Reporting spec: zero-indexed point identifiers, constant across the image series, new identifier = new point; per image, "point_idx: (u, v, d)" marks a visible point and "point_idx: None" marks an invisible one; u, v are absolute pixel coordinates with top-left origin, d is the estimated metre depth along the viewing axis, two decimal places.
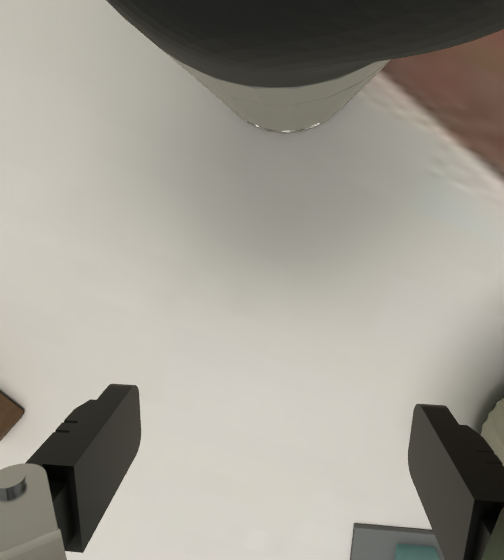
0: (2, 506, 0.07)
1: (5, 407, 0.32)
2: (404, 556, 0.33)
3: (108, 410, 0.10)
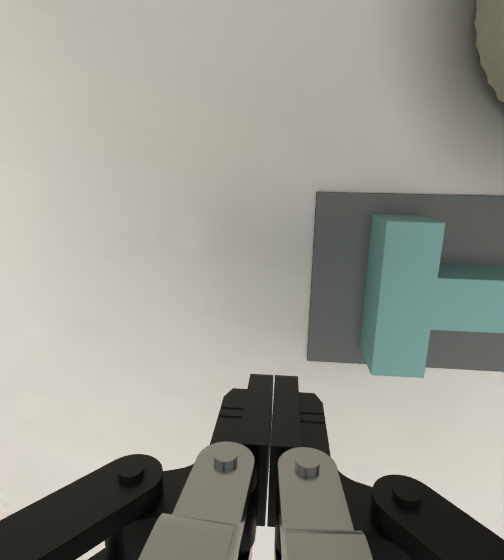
0: (231, 479, 0.08)
1: None
2: (381, 215, 0.25)
3: (265, 397, 0.11)
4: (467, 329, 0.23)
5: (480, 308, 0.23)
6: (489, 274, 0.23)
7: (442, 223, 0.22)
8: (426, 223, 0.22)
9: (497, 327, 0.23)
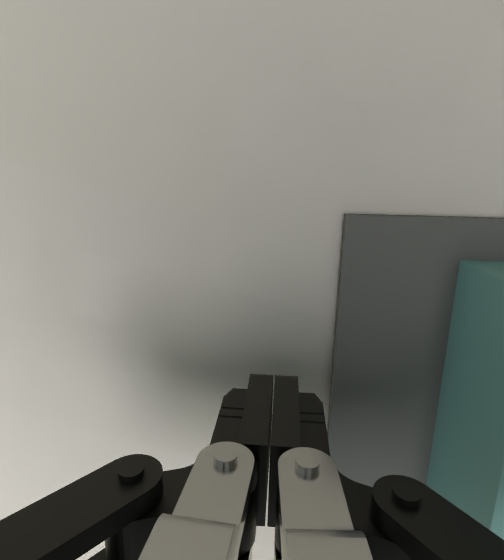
0: (231, 478, 0.08)
1: None
2: (488, 268, 0.11)
3: (265, 397, 0.11)
4: None
5: None
6: None
7: None
8: None
9: None
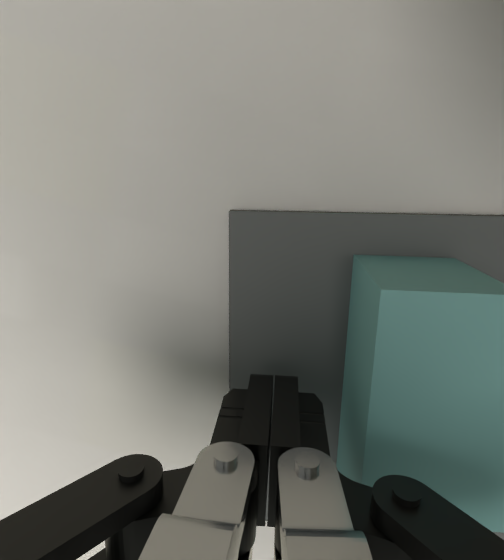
0: (231, 478, 0.08)
1: None
2: (371, 262, 0.12)
3: (265, 397, 0.11)
4: None
5: None
6: None
7: None
8: (479, 295, 0.09)
9: None
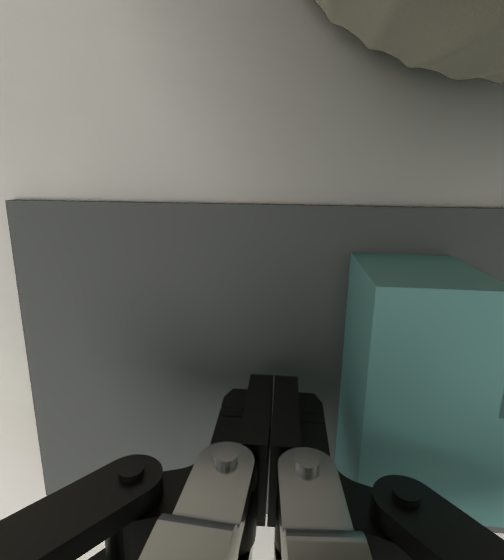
0: (231, 478, 0.08)
1: None
2: (367, 260, 0.12)
3: (265, 397, 0.11)
4: None
5: None
6: None
7: None
8: (474, 292, 0.09)
9: None
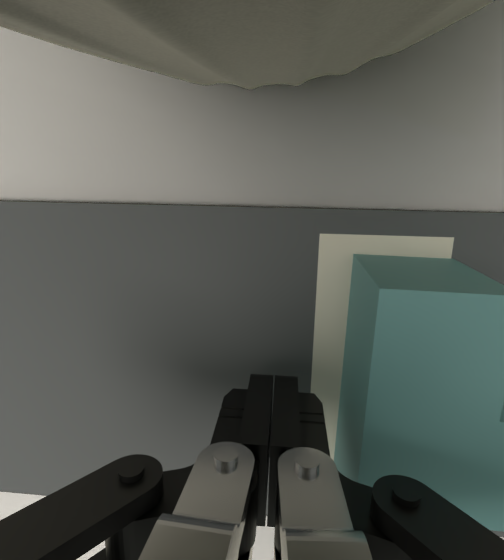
0: (231, 478, 0.08)
1: None
2: (370, 261, 0.12)
3: (265, 397, 0.11)
4: None
5: None
6: None
7: None
8: (477, 296, 0.09)
9: None
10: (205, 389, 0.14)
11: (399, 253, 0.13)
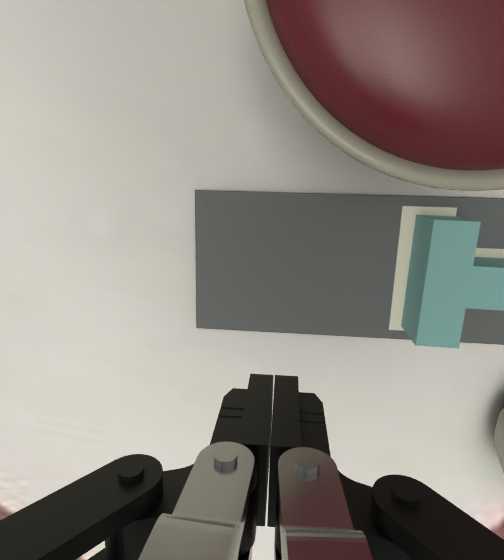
0: (231, 478, 0.08)
1: None
2: (425, 216, 0.30)
3: (265, 397, 0.11)
4: (495, 308, 0.28)
5: None
6: None
7: (478, 222, 0.27)
8: (465, 221, 0.27)
9: None
10: (348, 275, 0.33)
11: (435, 214, 0.31)
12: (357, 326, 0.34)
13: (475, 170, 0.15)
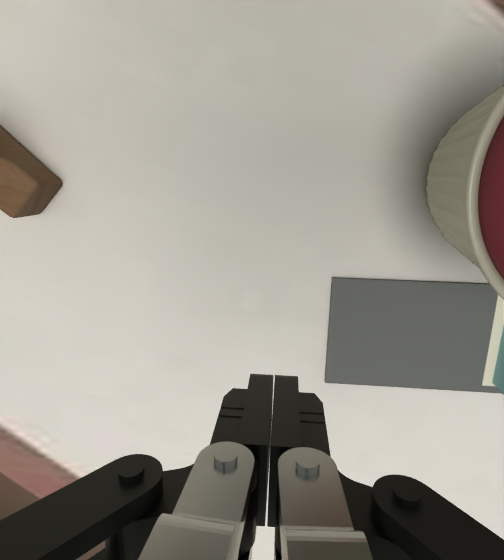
0: (231, 478, 0.08)
1: (48, 173, 0.40)
2: None
3: (265, 397, 0.11)
4: None
5: None
6: None
7: None
8: None
9: None
10: (451, 344, 0.42)
11: None
12: (456, 382, 0.42)
13: None
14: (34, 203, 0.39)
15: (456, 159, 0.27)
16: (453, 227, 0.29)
